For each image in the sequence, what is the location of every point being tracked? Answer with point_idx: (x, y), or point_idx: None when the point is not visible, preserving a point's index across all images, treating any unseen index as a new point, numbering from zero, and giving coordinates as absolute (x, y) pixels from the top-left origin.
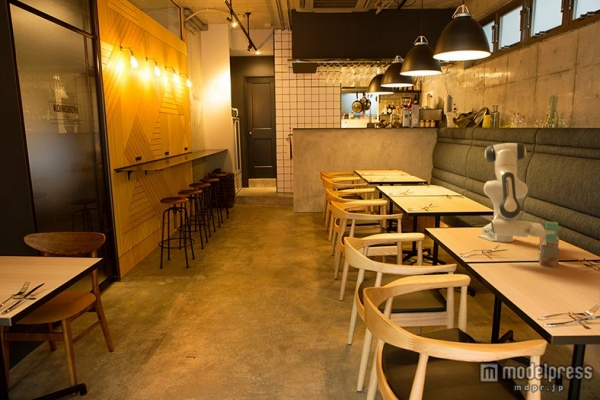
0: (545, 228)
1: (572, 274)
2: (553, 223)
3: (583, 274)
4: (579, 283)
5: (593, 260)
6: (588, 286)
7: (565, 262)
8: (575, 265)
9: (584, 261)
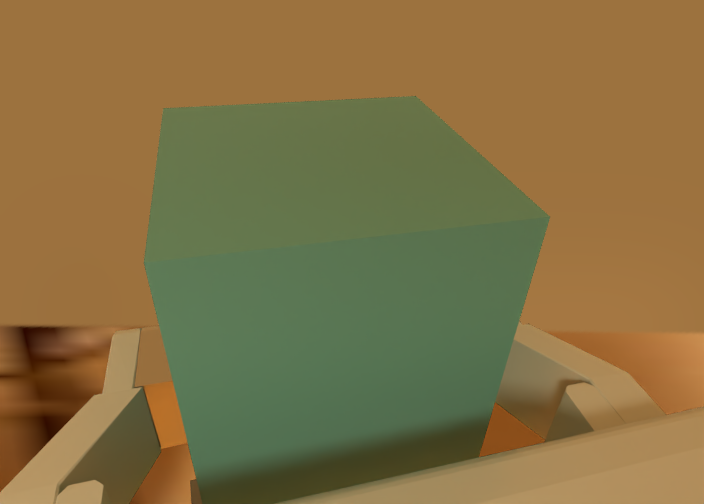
0: (223, 461)
1: (513, 434)
2: (437, 138)
3: None
4: (686, 392)
5: (28, 329)
6: (689, 354)
7: (153, 498)
8: None
9: (72, 373)
